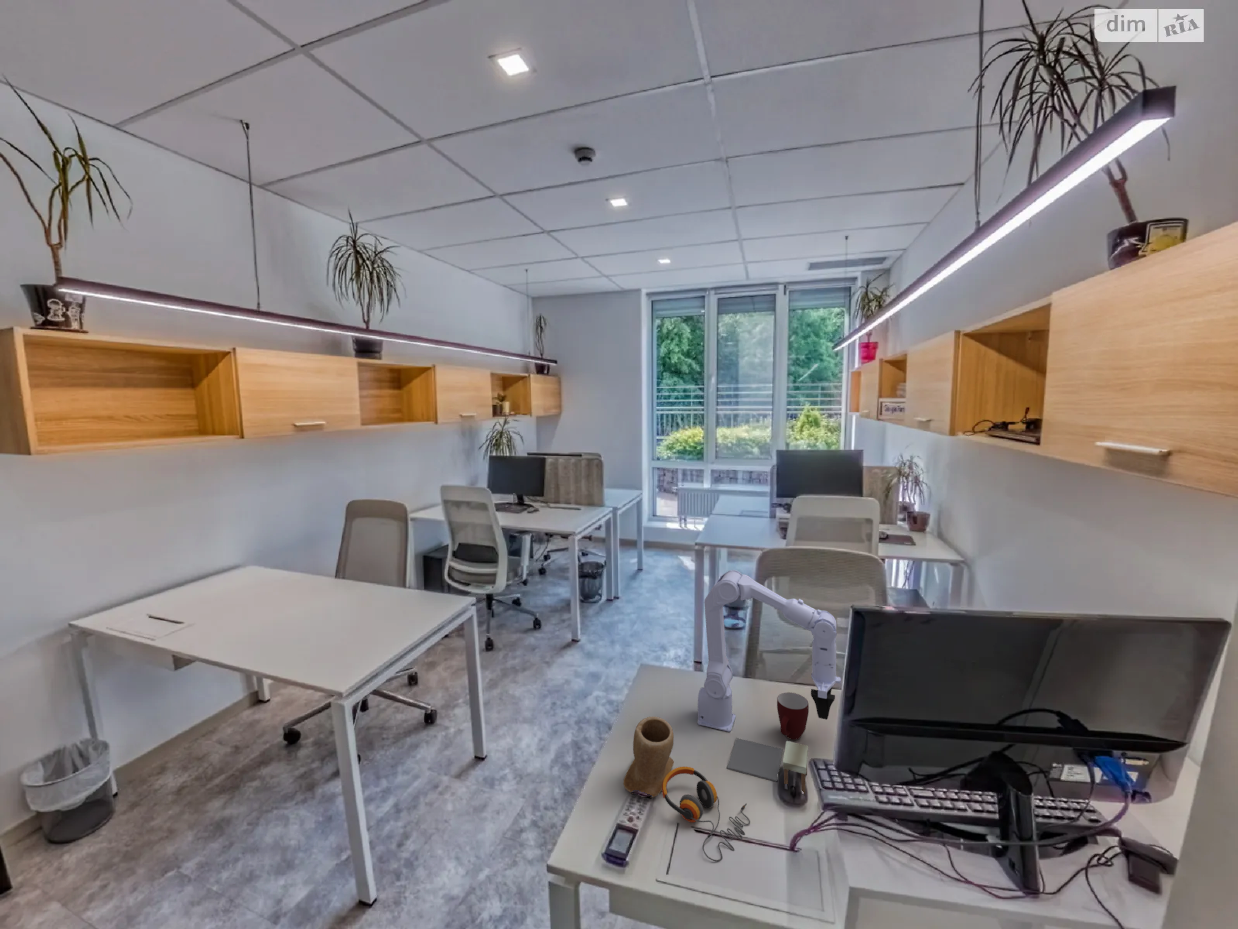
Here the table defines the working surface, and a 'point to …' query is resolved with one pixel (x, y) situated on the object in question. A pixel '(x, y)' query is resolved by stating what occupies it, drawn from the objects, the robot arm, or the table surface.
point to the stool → (795, 761)
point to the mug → (792, 714)
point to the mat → (755, 759)
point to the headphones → (693, 807)
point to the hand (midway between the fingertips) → (823, 709)
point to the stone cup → (650, 756)
